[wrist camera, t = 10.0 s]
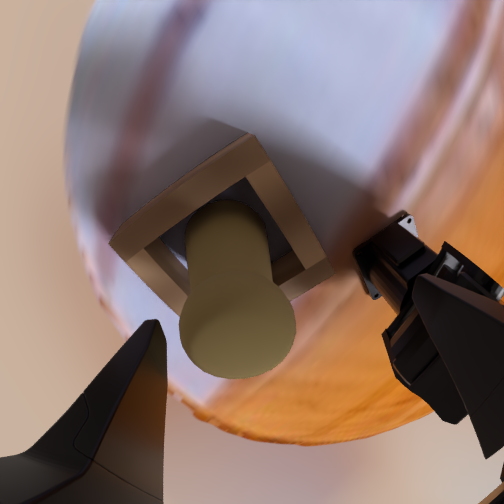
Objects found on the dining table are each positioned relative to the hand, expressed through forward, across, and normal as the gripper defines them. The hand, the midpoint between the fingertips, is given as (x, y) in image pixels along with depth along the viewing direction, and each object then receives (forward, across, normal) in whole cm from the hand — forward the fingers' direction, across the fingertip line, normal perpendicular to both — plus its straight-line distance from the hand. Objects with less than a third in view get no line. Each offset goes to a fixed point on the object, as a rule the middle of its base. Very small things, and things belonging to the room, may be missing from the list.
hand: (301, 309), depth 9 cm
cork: (+12, +2, +3) cm, 13 cm away
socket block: (+12, +2, +3) cm, 13 cm away
